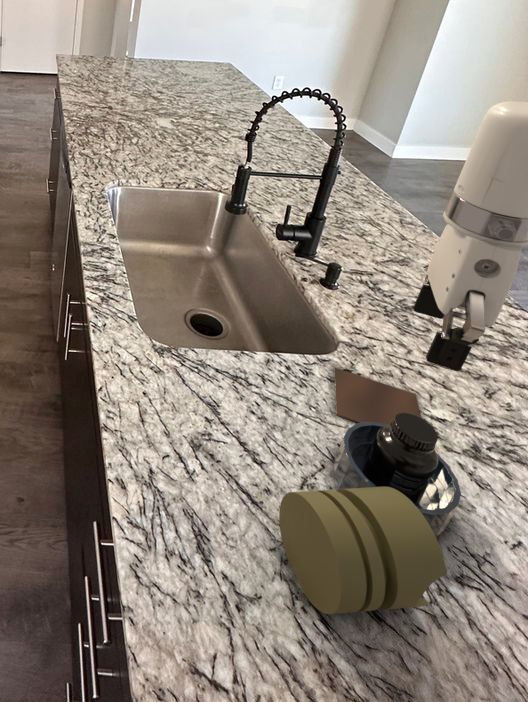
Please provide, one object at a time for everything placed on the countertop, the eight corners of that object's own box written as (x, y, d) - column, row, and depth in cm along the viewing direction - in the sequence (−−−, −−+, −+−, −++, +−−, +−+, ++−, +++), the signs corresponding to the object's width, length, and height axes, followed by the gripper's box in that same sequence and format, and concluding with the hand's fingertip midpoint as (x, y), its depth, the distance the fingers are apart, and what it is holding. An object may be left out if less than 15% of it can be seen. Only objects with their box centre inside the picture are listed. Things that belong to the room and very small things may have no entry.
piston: (425, 627, 60) (462, 567, 55) (323, 636, 59) (353, 575, 54) (358, 523, 70) (385, 465, 66) (271, 529, 69) (292, 470, 65)
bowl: (435, 472, 77) (448, 446, 75) (455, 561, 66) (471, 533, 64) (332, 434, 83) (341, 408, 80) (334, 510, 72) (346, 483, 70)
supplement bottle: (426, 496, 74) (458, 434, 69) (404, 524, 70) (436, 462, 65) (373, 457, 79) (399, 398, 74) (350, 481, 75) (376, 421, 70)
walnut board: (414, 396, 90) (415, 394, 89) (425, 449, 81) (426, 446, 80) (333, 369, 95) (334, 367, 94) (335, 416, 86) (336, 413, 85)
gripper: (565, 268, 50) (491, 402, 56) (510, 192, 64) (456, 307, 71) (465, 244, 53) (407, 374, 60) (434, 177, 67) (390, 288, 74)
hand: (434, 338), depth 65 cm, fingers open, 9 cm apart
